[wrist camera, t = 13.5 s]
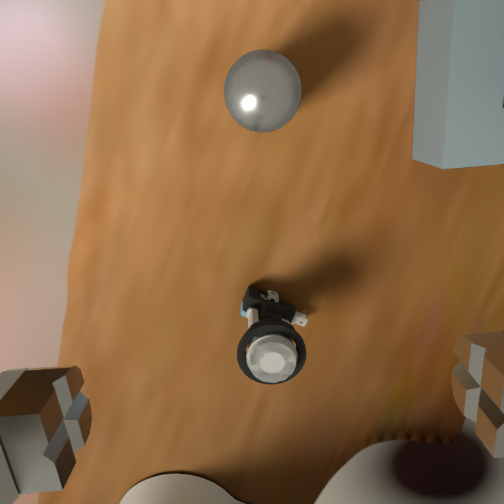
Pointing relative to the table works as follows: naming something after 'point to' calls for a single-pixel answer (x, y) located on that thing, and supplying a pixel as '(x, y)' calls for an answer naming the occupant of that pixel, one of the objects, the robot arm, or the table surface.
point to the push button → (270, 338)
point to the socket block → (459, 83)
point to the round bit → (262, 91)
